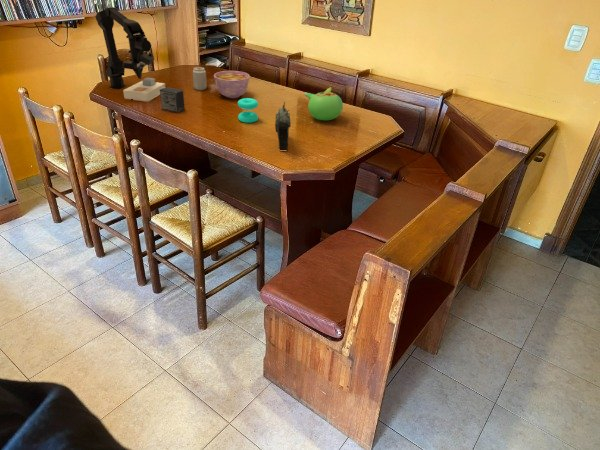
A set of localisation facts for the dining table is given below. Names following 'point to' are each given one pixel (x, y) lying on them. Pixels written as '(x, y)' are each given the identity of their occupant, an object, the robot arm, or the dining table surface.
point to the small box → (172, 99)
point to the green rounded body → (324, 105)
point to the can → (199, 78)
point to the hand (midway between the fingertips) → (139, 78)
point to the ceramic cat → (283, 127)
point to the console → (143, 92)
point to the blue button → (148, 81)
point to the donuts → (248, 105)
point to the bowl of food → (231, 83)
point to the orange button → (139, 89)
